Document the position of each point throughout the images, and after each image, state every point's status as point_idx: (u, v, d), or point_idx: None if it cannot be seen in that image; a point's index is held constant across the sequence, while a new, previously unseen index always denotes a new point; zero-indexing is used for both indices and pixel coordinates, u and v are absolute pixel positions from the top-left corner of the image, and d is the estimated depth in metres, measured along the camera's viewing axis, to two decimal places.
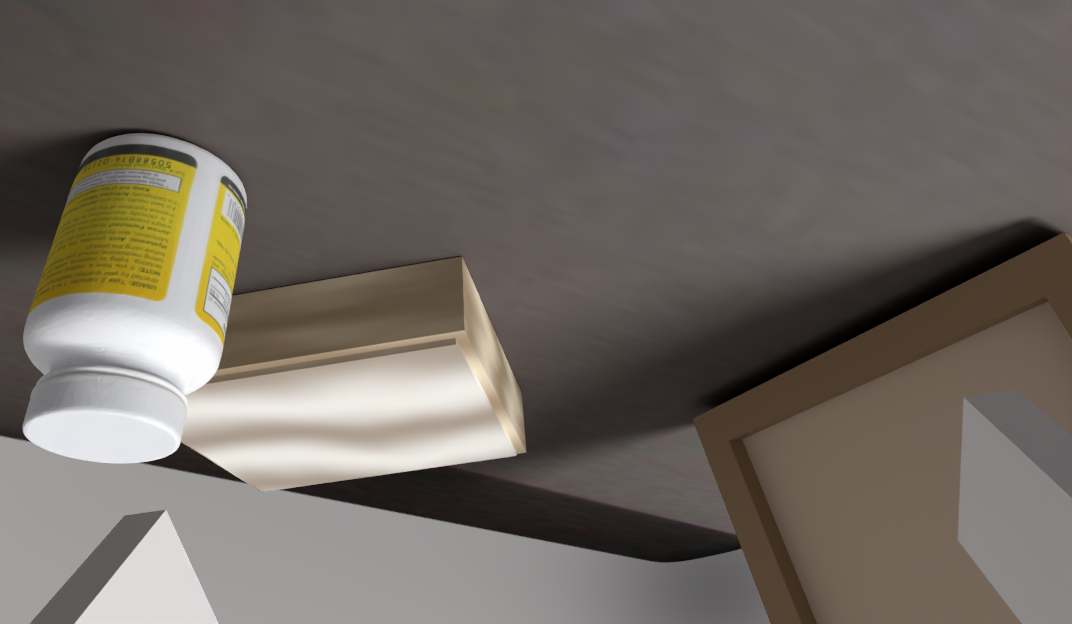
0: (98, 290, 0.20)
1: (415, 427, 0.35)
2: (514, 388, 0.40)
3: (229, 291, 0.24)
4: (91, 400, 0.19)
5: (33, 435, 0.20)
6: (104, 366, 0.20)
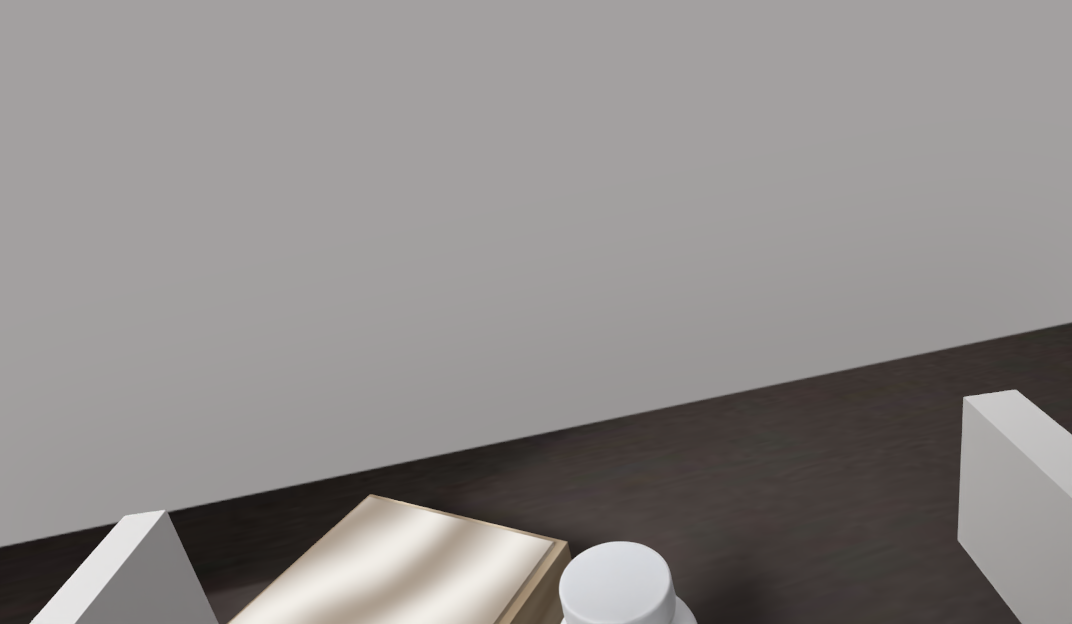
0: None
1: None
2: None
3: None
4: (652, 617, 0.24)
5: (654, 556, 0.26)
6: None
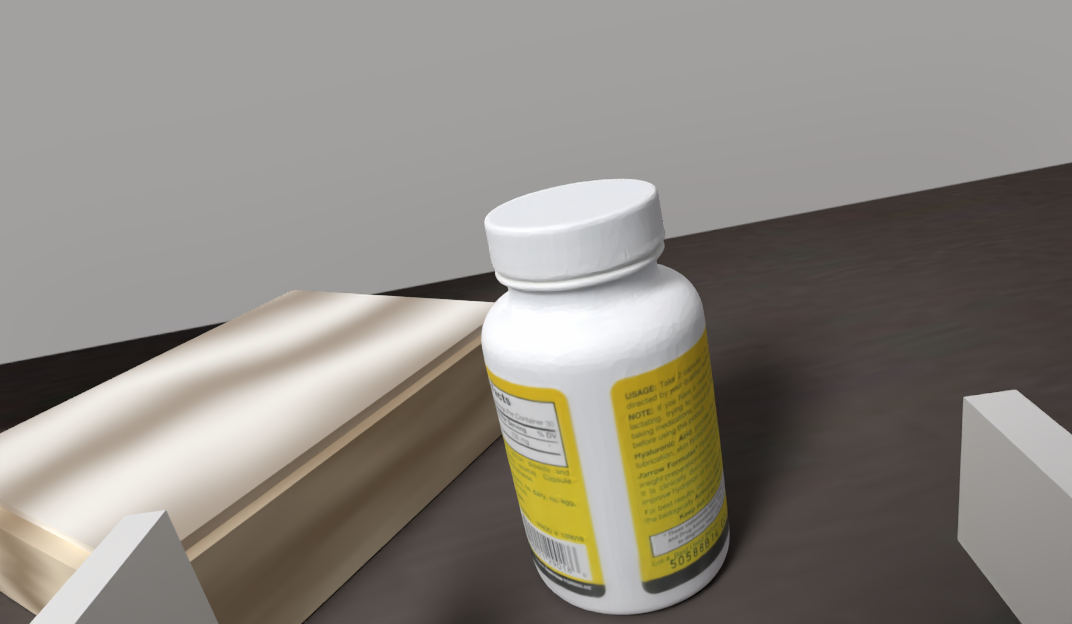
0: (678, 359, 0.15)
1: (140, 427, 0.23)
2: None
3: (521, 451, 0.17)
4: (625, 225, 0.15)
5: (633, 181, 0.17)
6: (625, 276, 0.15)
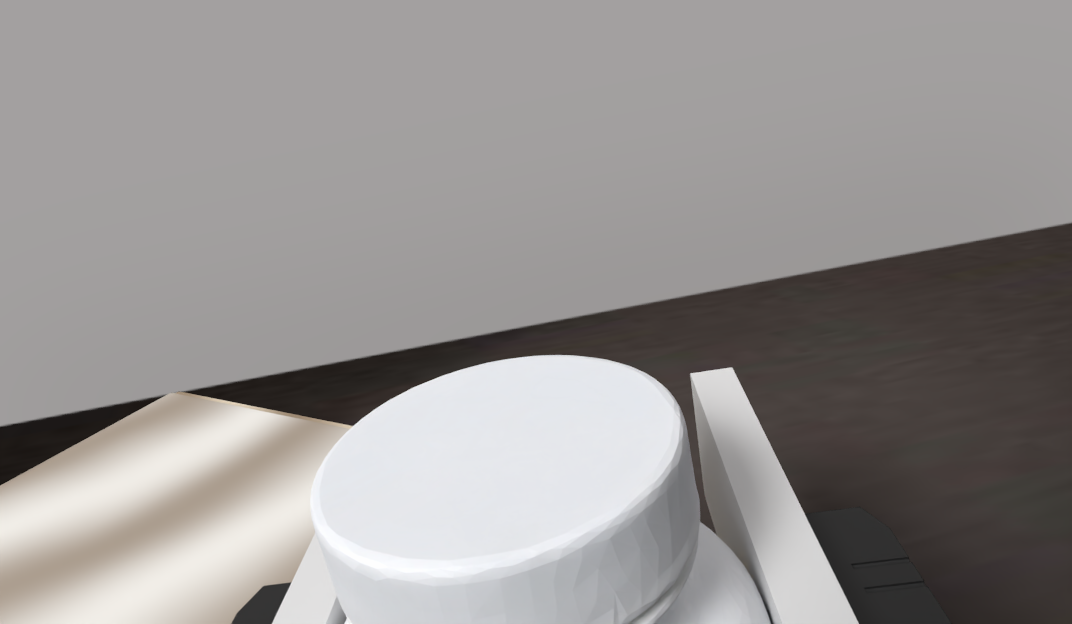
0: None
1: None
2: None
3: None
4: (614, 551, 0.06)
5: (632, 379, 0.08)
6: None
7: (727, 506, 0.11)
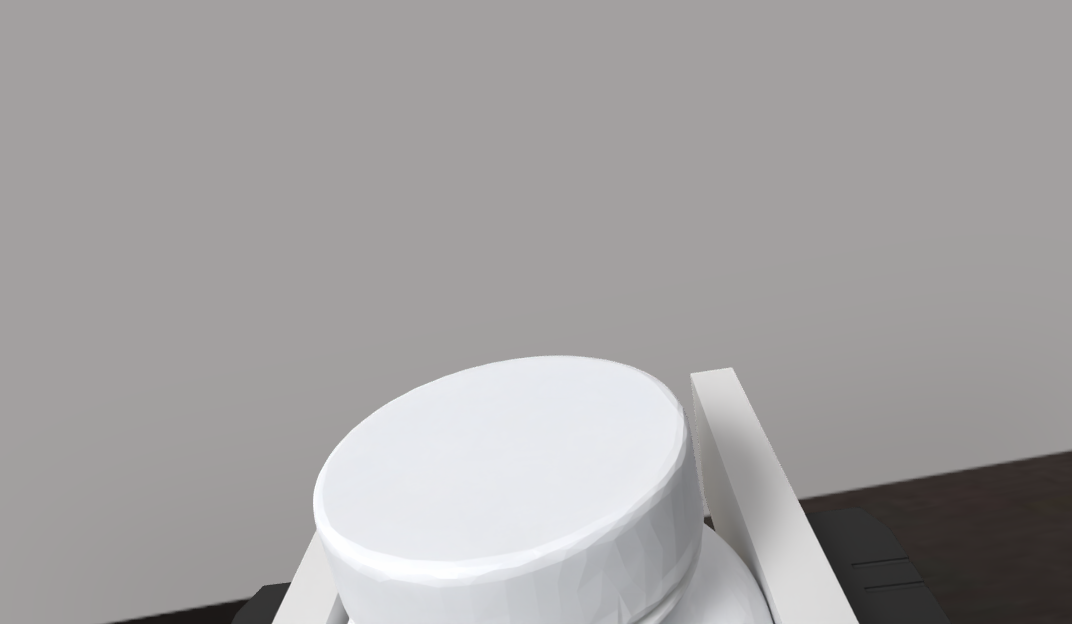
0: None
1: None
2: None
3: None
4: (619, 553, 0.06)
5: (635, 380, 0.08)
6: None
7: (727, 506, 0.11)
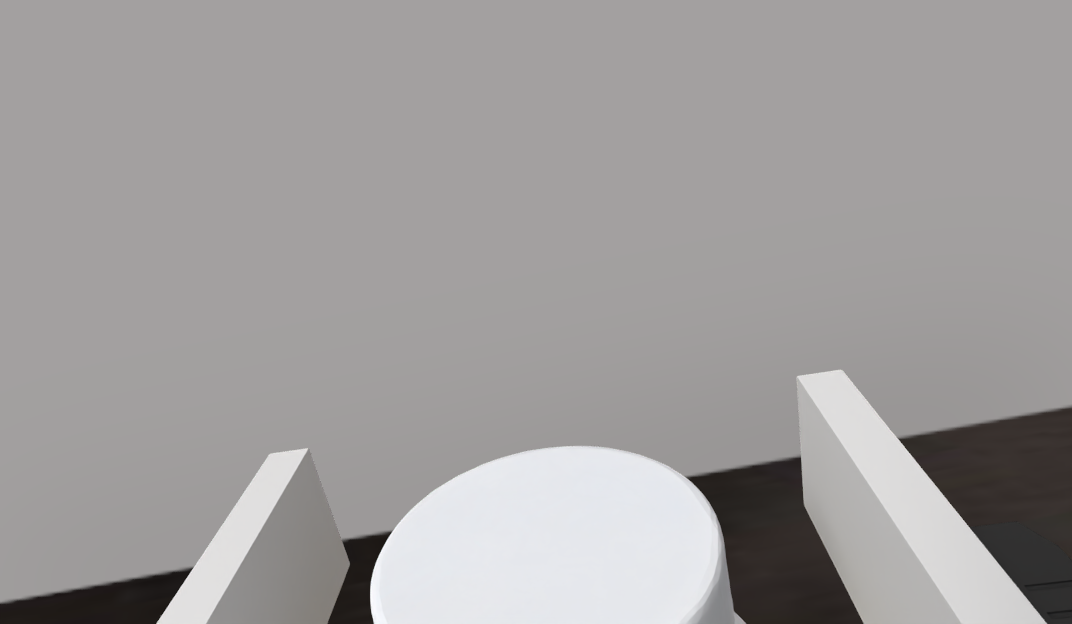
0: None
1: None
2: None
3: None
4: None
5: (669, 480, 0.09)
6: None
7: (862, 519, 0.10)
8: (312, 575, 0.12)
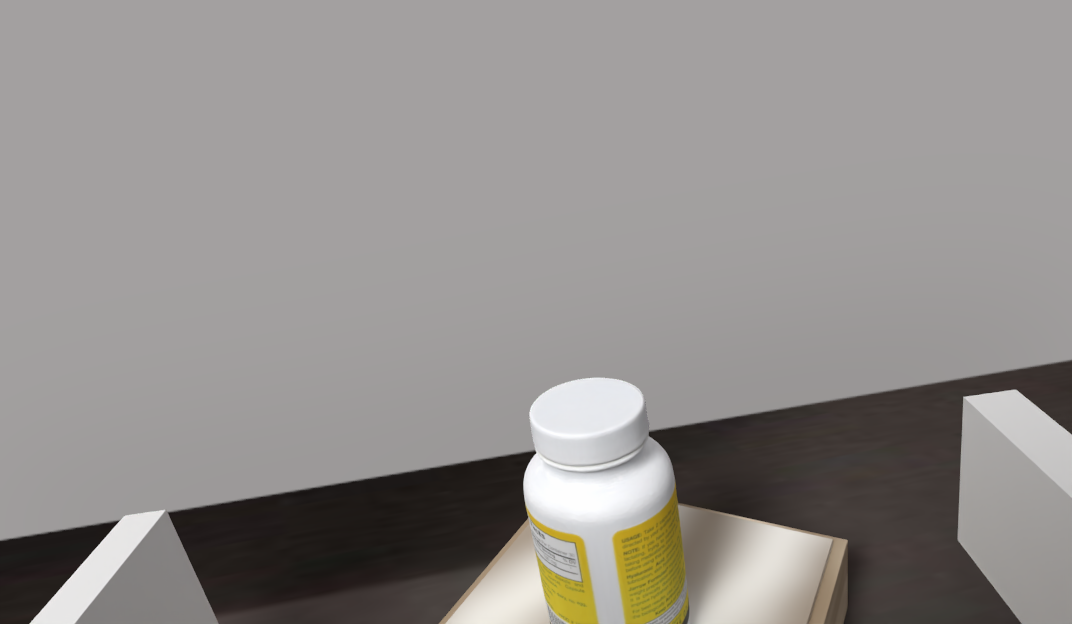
0: (656, 515, 0.23)
1: None
2: None
3: (550, 567, 0.25)
4: (624, 433, 0.23)
5: (628, 387, 0.25)
6: (623, 461, 0.23)
7: None
8: None
